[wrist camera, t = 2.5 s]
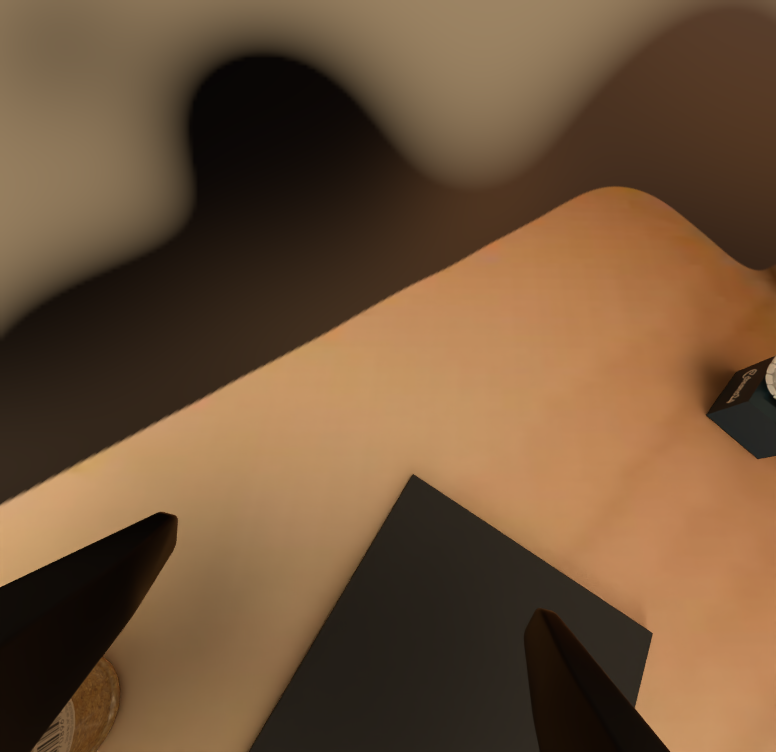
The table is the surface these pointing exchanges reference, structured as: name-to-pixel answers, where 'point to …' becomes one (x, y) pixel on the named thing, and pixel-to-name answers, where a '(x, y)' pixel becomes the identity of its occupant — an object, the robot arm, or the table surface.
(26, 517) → the table surface
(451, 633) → the desk mat
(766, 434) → the watch
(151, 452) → the table surface
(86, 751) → the sprinkles bottle
